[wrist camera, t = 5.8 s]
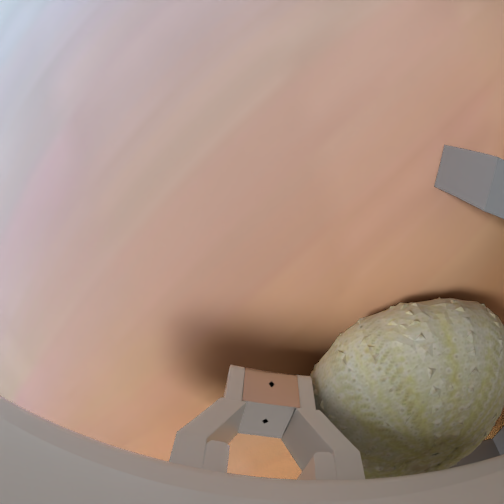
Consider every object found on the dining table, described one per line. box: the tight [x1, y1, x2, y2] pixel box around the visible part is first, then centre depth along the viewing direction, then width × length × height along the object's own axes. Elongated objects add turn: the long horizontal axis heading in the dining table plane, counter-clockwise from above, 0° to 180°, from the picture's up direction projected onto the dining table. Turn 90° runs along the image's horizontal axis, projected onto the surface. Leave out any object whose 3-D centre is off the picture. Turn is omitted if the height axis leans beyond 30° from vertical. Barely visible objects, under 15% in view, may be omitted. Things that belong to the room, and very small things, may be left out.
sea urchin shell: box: [310, 297, 504, 479], centre depth 11 cm, size 9×8×8 cm
